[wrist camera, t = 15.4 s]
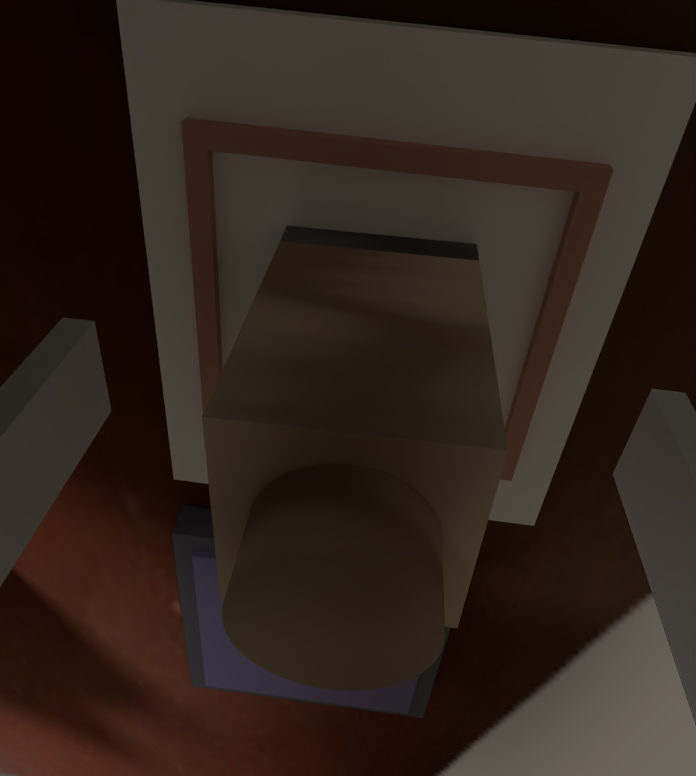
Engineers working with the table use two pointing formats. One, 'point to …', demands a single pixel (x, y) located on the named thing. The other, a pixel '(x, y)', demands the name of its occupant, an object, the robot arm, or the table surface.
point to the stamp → (354, 457)
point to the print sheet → (397, 185)
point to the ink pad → (228, 665)
